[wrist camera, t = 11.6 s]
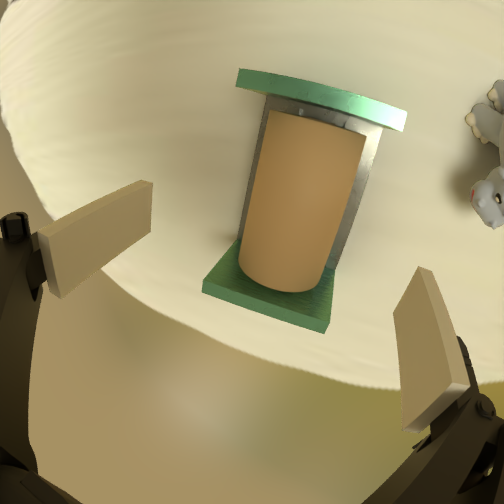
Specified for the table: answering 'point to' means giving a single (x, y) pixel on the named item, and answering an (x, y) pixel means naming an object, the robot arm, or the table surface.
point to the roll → (298, 200)
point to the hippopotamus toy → (499, 133)
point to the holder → (369, 124)
